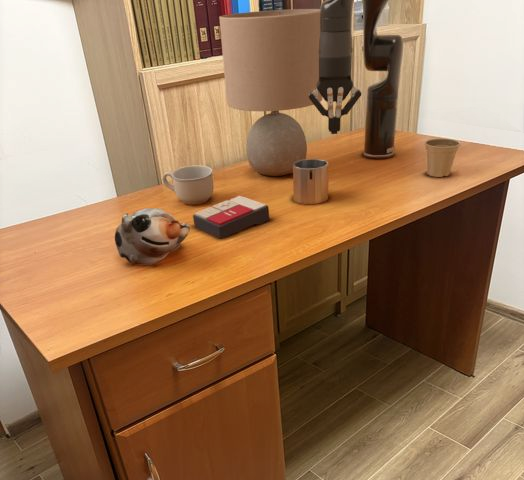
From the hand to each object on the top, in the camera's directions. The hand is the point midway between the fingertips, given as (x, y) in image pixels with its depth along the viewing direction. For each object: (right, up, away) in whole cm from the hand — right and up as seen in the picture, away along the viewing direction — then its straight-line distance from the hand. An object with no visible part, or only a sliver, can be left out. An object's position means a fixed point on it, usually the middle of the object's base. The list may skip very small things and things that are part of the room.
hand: (334, 133), depth 132 cm
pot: (-1, -10, +7) cm, 12 cm away
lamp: (-13, +1, +31) cm, 34 cm away
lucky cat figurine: (-41, -33, -15) cm, 55 cm away
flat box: (-25, -23, -2) cm, 34 cm away
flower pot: (+32, -4, +20) cm, 38 cm away
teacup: (-37, -13, +14) cm, 42 cm away
